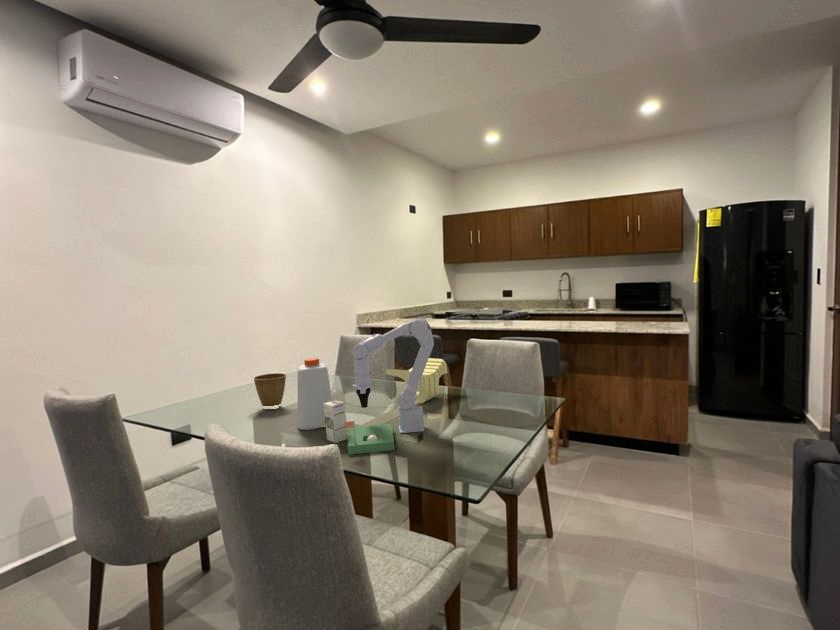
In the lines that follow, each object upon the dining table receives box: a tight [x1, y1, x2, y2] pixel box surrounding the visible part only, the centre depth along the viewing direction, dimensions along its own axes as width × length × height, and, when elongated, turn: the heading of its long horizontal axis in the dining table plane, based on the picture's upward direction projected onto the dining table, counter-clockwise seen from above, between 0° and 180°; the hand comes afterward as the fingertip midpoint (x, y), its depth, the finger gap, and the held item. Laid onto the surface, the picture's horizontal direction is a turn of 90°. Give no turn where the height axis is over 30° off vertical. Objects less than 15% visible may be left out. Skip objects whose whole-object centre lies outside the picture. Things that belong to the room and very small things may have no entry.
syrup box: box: [324, 400, 348, 444], centre depth 168 cm, size 6×6×14 cm
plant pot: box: [253, 372, 287, 407], centre depth 218 cm, size 15×15×16 cm
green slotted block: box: [344, 420, 396, 456], centre depth 163 cm, size 17×20×11 cm
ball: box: [367, 435, 378, 441], centre depth 159 cm, size 4×4×4 cm
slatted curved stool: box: [385, 357, 448, 404], centre depth 219 cm, size 30×16×18 cm, turn 147°
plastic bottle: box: [297, 357, 333, 431], centre depth 188 cm, size 15×15×28 cm
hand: (364, 407), depth 177 cm, fingers closed
